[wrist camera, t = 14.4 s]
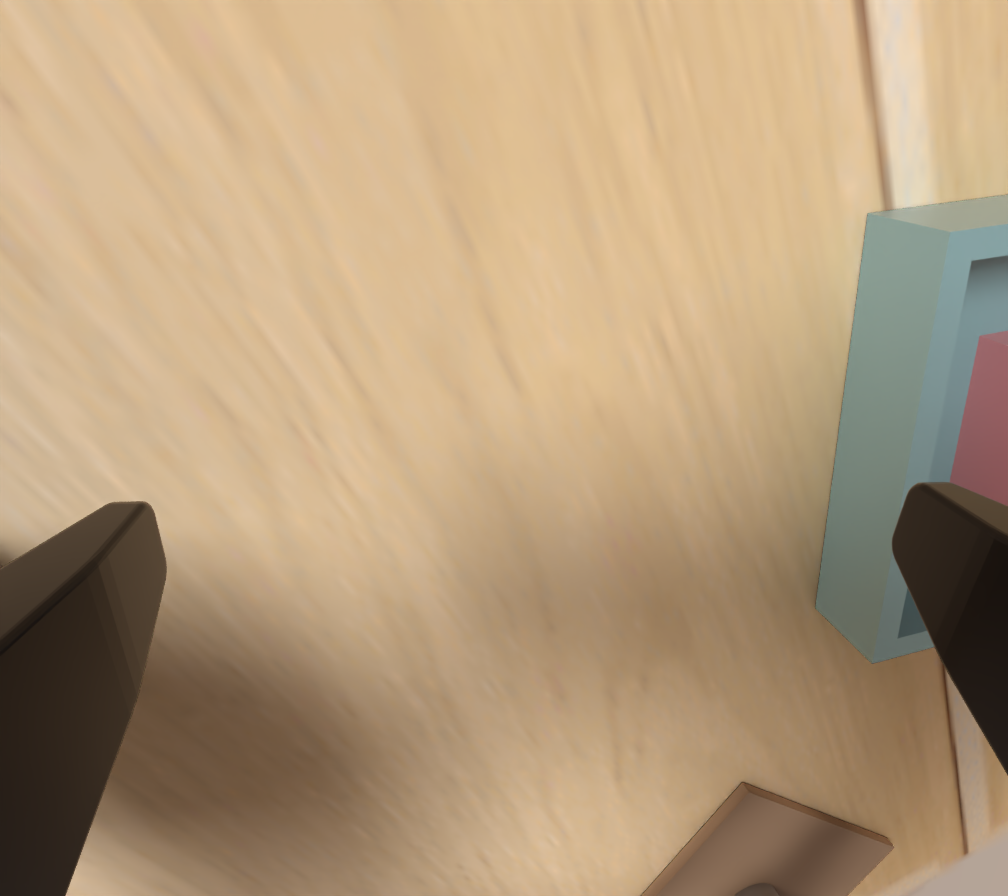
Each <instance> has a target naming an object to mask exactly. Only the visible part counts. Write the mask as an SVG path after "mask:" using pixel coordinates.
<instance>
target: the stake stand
mask: <svg viewBox="0 0 1008 896" xmlns="http://www.w3.org/2000/svg"><path fill="white" fill-rule="evenodd" d="M893 848H894V846H893V845H892V844H891V842H890V841H889V840H888V839H887V838H886V837H883V836H881V835H878V834H876V833H873V832H870V831H868V830H865V829H863V828H860V827H857V826H855V825H852V824H850V823H847V822H844V821H842V820H839V819H837V818H834V817H831V816H829V815H826V814H824V813H821V812H818V811H816V810H813V809H811V808H808V807H805V806H803V805H800V804H798V803H795V802H792V801H790V800H787V799H785V798H782V797H779V796H777V795H774V794H772V793H769V792H766V791H764V790H761V789H759V788H756V787H753V786H751V785H748V784H746V783H743V782H742V783H741V784H740V785H739V786H738V788H737V789H736V790H735V791H734V792H733V793H732V794H731V795H730V797H729V798H728V799H727V800H726V801H725V802H724V803H723V804H722V806H721V807H720V808H719V809H718V810H717V811H716V812H715V813H714V815H713V816H712V817H711V818H710V819H709V820H708V821H707V822H706V823H705V825H704V826H703V827H702V828H701V829H700V830H699V831H698V832H697V834H696V835H695V836H694V837H693V838H692V839H691V840H690V841H689V843H688V844H687V845H686V846H685V847H684V848H683V849H682V850H681V852H680V853H679V854H678V855H677V856H676V857H675V858H674V859H673V861H672V862H671V863H670V864H669V865H668V866H667V867H666V868H665V870H664V871H663V872H662V873H661V874H660V875H659V876H658V877H657V878H656V880H655V881H654V882H653V883H652V884H651V885H650V886H649V887H648V889H647V890H646V891H645V892H644V893H643V894H642V895H641V896H848V895H849V894H850V892H851V891H852V890H853V889H854V888H855V887H856V886H857V885H858V884H859V883H860V882H861V881H862V880H863V879H864V878H865V877H866V876H867V875H868V874H869V873H870V872H871V871H872V870H873V869H874V868H875V867H876V866H877V865H878V864H879V863H880V862H881V861H882V860H883V859H884V858H885V857H886V856H887V854H888V853H889V852H890V851H891V850H892V849H893Z"/></svg>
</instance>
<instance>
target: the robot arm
mask: <svg viewBox="0 0 1008 896" xmlns="http://www.w3.org/2000/svg"><path fill="white" fill-rule="evenodd" d="M892 552H893V556H894V559H895V561H896V563H897V565H898V567H899V570H900V572H901V574H902V576H903V578H904V581H905V583H906V585H907V587H908V590H909V592H910V594H911V596H912V598H913V601H914V603H915V605H916V607H917V609H918V612H919V614H920V616H921V618H922V620H923V623H924V625H925V627H926V629H927V632H928V634H929V636H930V638H931V640H932V643H933V645H934V647H935V649H936V651H937V653H938V655H939V657H940V659H941V661H942V663H943V665H944V667H945V668H946V670H947V672H948V674H949V676H950V677H951V679H952V681H953V683H954V684H955V686H956V688H957V689H958V691H959V693H960V695H961V696H962V698H963V700H964V701H965V703H966V705H967V707H968V708H969V710H970V712H971V713H972V715H973V717H974V719H975V720H976V722H977V724H978V725H979V727H980V729H981V730H982V732H983V734H984V736H985V737H986V739H987V741H988V742H989V744H990V746H991V748H992V749H993V751H994V753H995V754H996V756H997V758H998V760H999V761H1000V763H1001V765H1002V766H1003V768H1004V770H1005V772H1006V773H1007V775H1008V506H1007V505H1004V504H1002V503H999V502H997V501H995V500H992V499H990V498H987V497H985V496H982V495H980V494H978V493H975V492H973V491H970V490H968V489H966V488H963V487H961V486H958V485H956V484H954V483H950V482H920V483H917V484H915V485H913V486H912V487H911V488H910V489H909V491H908V493H907V495H906V498H905V501H904V504H903V507H902V510H901V513H900V516H899V518H898V521H897V524H896V527H895V530H894V533H893V536H892ZM166 572H167V566H166V558H165V554H164V550H163V546H162V541H161V537H160V533H159V529H158V525H157V521H156V517H155V513H154V511H153V509H152V507H151V505H149V504H148V503H147V502H143V501H136V502H112V503H109V504H107V505H105V506H103V507H102V508H100V509H98V510H97V511H95V512H93V513H92V514H90V515H88V516H87V517H85V518H83V519H82V520H80V521H78V522H77V523H75V524H73V525H72V526H70V527H68V528H67V529H65V530H63V531H62V532H60V533H58V534H57V535H55V536H53V537H52V538H50V539H48V540H47V541H45V542H43V543H42V544H40V545H38V546H37V547H35V548H33V549H32V550H30V551H28V552H27V553H25V554H23V555H22V556H20V557H18V558H17V559H15V560H13V561H12V562H10V563H8V564H7V565H5V566H3V567H2V568H0V896H66V893H67V890H68V887H69V885H70V882H71V879H72V877H73V874H74V871H75V868H76V866H77V863H78V860H79V858H80V855H81V852H82V849H83V847H84V844H85V841H86V838H87V836H88V833H89V830H90V828H91V825H92V822H93V819H94V817H95V814H96V811H97V809H98V806H99V803H100V800H101V798H102V795H103V792H104V789H105V787H106V784H107V781H108V779H109V776H110V773H111V770H112V768H113V765H114V762H115V760H116V757H117V754H118V751H119V749H120V746H121V743H122V741H123V738H124V735H125V732H126V730H127V727H128V724H129V721H130V719H131V716H132V713H133V710H134V707H135V704H136V701H137V698H138V694H139V691H140V687H141V683H142V679H143V675H144V671H145V667H146V662H147V658H148V654H149V649H150V645H151V641H152V637H153V632H154V628H155V624H156V619H157V615H158V611H159V607H160V602H161V598H162V594H163V589H164V585H165V581H166Z"/></svg>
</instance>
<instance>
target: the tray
mask: <svg viewBox="0 0 1008 896" xmlns="http://www.w3.org/2000/svg"><path fill="white" fill-rule="evenodd" d="M1003 331H1008V195H1001V196H993V197H986V198H978V199H971V200H963V201H956V202H948V203H941V204H933V205H926V206H918V207H911V208H903V209H896V210H888V211H881V212H873V213H868V216H867V223H866V231H865V238H864V246H863V253H862V261H861V268H860V276H859V283H858V291H857V298H856V306H855V313H854V321H853V328H852V336H851V343H850V351H849V358H848V366H847V373H846V381H845V388H844V396H843V403H842V411H841V418H840V426H839V433H838V441H837V448H836V456H835V463H834V471H833V478H832V486H831V493H830V501H829V508H828V516H827V523H826V531H825V538H824V546H823V553H822V561H821V568H820V576H819V583H818V591H817V598H816V606H815V609H817V610H818V611H819V612H820V613H821V614H822V615H823V616H824V617H825V618H826V619H827V620H828V621H829V622H830V623H831V624H832V625H833V626H834V627H835V628H836V629H837V630H838V631H839V632H840V633H841V634H842V635H843V636H844V637H845V638H846V639H847V640H848V641H849V642H850V643H851V644H852V645H853V646H854V647H855V648H856V649H857V650H858V651H859V652H860V653H861V654H863V655H864V656H865V657H866V658H867V659H868V660H869V661H870V662H871V663H872V664H873V663H877V662H881V661H884V660H888V659H892V658H896V657H899V656H903V655H907V654H911V653H914V652H918V651H922V650H926V649H929V648H933V647H934V645H933V643H932V640H931V638H930V636H929V634H928V632H927V629H926V627H925V625H924V623H923V620H922V618H921V616H920V614H919V612H918V609H917V607H916V605H915V603H914V601H913V598H912V596H911V594H910V592H909V590H908V587H907V585H906V583H905V581H904V578H903V576H902V574H901V572H900V570H899V567H898V565H897V563H896V561H895V559H894V556H893V552H892V536H893V533H894V530H895V527H896V524H897V521H898V518H899V516H900V513H901V510H902V507H903V504H904V501H905V498H906V495H907V493H908V491H909V489H910V488H911V487H912V486H913V485H915V484H917V483H920V482H950V477H951V472H952V467H953V463H954V458H955V453H956V448H957V443H958V438H959V433H960V428H961V424H962V419H963V414H964V409H965V404H966V399H967V394H968V389H969V385H970V380H971V375H972V370H973V365H974V360H975V355H976V350H977V346H978V341H979V336H981V335H986V334H992V333H997V332H1003Z"/></svg>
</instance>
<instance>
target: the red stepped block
mask: <svg viewBox="0 0 1008 896" xmlns="http://www.w3.org/2000/svg"><path fill="white" fill-rule="evenodd" d="M950 483H954V484H956V485H958V486H961V487H963V488H966V489H968V490H970V491H973V492H975V493H978V494H980V495H982V496H985V497H987V498H990V499H992V500H995V501H997V502H999V503H1002V504H1004V505H1007V506H1008V331H1003V332H997V333H992V334H986V335H981V336H979V341H978V346H977V350H976V355H975V360H974V365H973V370H972V375H971V380H970V385H969V389H968V394H967V399H966V404H965V409H964V414H963V419H962V424H961V428H960V433H959V438H958V443H957V448H956V453H955V458H954V463H953V467H952V472H951V477H950Z"/></svg>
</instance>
